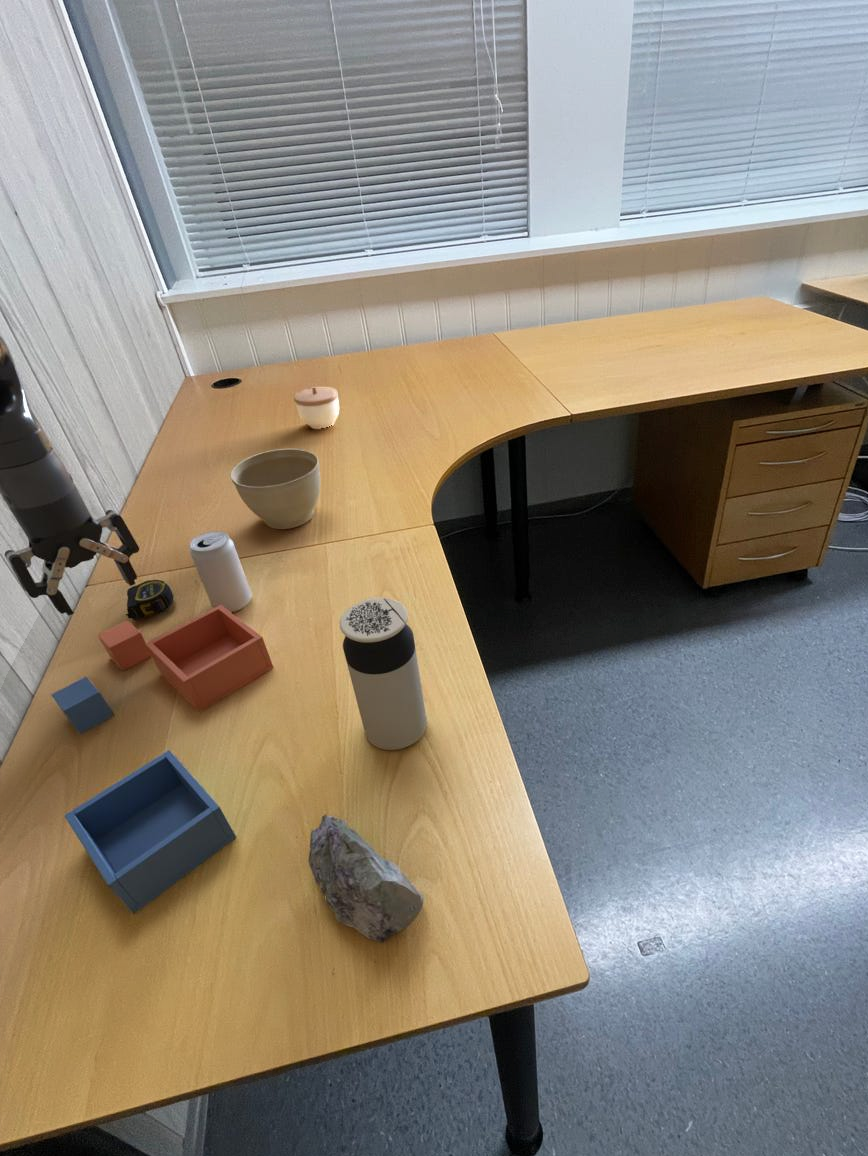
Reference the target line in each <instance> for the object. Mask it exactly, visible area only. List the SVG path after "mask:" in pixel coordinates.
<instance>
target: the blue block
mask: <svg viewBox="0 0 868 1156" xmlns="http://www.w3.org/2000/svg"><path fill="white" fill-rule="evenodd" d="M50 695H51V697H52V699H53V700H54V701H55V703H56V704H57V705H58V707H59V708H60V709H61V711H62V712H63V714H64V715H65V716H66V718H67V719H68V721H69V722H70V723H71V725H72V726H73V727H74V729H75V730H76V731H77V733H78V734H79V735H82V734H83V733H85V732H88V731H89V730H91V729H92V728H94V727H96V726H97V725H100V724H102V723H103V722H105V721H107V720H108V719H110V718H112V717H113V716H115V714H114V713H113V711H112V710H111V708H110V706H109V705H108V704H107V703H108V702H106V700H105V698H104V697H103V695H102V694H101V692H100V691H99V690H98V689H97V687H96V686H95V685H94V683H93V682H92V681H91V680H90V679H89V678H88V677H87V676H84V677H82V678H80V679H78V680H76V681H74V682H73V683H71V684H69V685H67V686H65V687H63V688H61V689H58V690H57V691H55V692H53V693H51V694H50Z"/></svg>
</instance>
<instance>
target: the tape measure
mask: <svg viewBox="0 0 868 1156" xmlns="http://www.w3.org/2000/svg"><path fill="white" fill-rule="evenodd" d="M168 584H169V583H166V582H165V581H164V580H161V579H149V580H145V581H144V582H140V583H139V584H135V585H132V586H130V587H129V588H127V591H126V596H127V602H126V611H127V613H125V616H127V619H128V620H130V619H132V620H133V621H139V620H142V619H144V618H145V617H153V616H158V615H160V614H161V613H164V612H165V611H167V610H168V609H170V607H171V606H172V605H173V603H174V597H175V596H174V592H173V590H172V589H171V587H170V586H169V585H168Z"/></svg>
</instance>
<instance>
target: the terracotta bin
mask: <svg viewBox="0 0 868 1156" xmlns="http://www.w3.org/2000/svg"><path fill="white" fill-rule="evenodd" d="M145 645H146V647H147V649H148V651H149V653H150V655H151V656H150V658H151V659H152V660H153V662H154V664H155V666H156V668H157V669H158V672H159V673H160V675H161V676H162V677H163V678H164V679H165V680H166V681H167V682H168V683H169V685H170V686H172V687H173V688H174V690H176V692H178V693H179V694H180V695H181V696H182V697H183V698H184V699H185V700H186V702H188V703H189V704H190V705H191V706H192V708H194V709H195V711H197V712H198V713H201V712H203V711H204V710H206V709H208V708H209V707H211V706H213V705H214V704H216V703H218V702H219V701H220V700H222V699H224V698H226V697H227V696H229V695H231V694H232V693H234V692H236V691H238V690H239V689H240V688H242V687H244V686H246V685H248V684H249V683H251V682H252V681H254V680H255V679H257V678H259V677H260V676H262V675H264V674H265V673H267V672H268V671H270V670H272V669H274V665H273V662H272V659H271V657H270V654H269V651H268V649H267V645H266V643H265V641H264V637H263V636H262V635H260V634H259V632H257V631H256V630H254V629H253V628H252V627H250V626H249V625H248V624H246V623H245V622H244V621H242V620H241V619H240V618H239V617H237V616H236V615H235V614H233V612H230V611H228V610H227V609H226V608H224V607H223V606H222V605H219V606H217V607H215V608H213V607H212V608H211V609H209V610H208V611H205V612H203V613H201V614H199V615H197V616H195V617H193V618H192V619H190V620H188V621H186V622H183V623H182V624H181V625H178V626H177V627H175V628H173V629H170V630H169V631H166V632H165V633H163V634H161V635H159V636H157V637H155V638H153V639H151V640H149V641H147V642H146V643H145Z"/></svg>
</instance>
